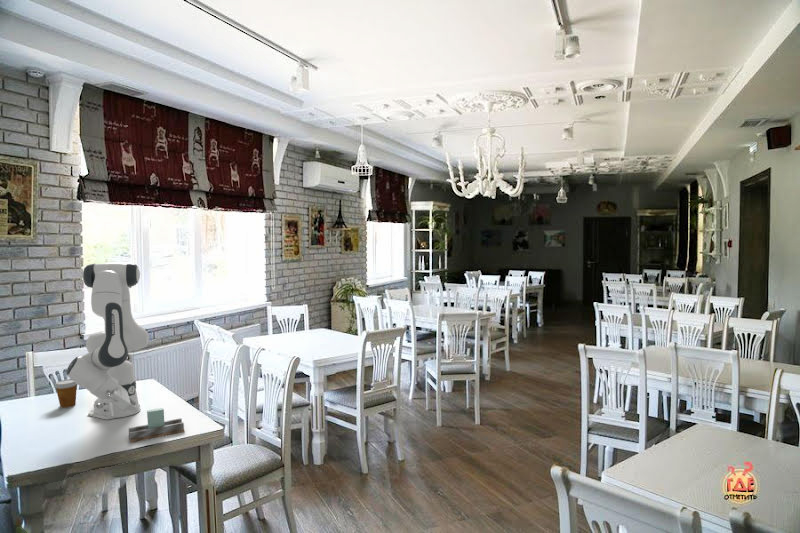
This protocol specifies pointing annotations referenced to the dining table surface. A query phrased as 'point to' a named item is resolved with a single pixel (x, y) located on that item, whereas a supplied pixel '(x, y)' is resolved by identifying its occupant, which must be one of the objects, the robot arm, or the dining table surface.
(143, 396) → the dining table surface
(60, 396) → the disposable coffee cup
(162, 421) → the green rectangular box
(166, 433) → the rail
